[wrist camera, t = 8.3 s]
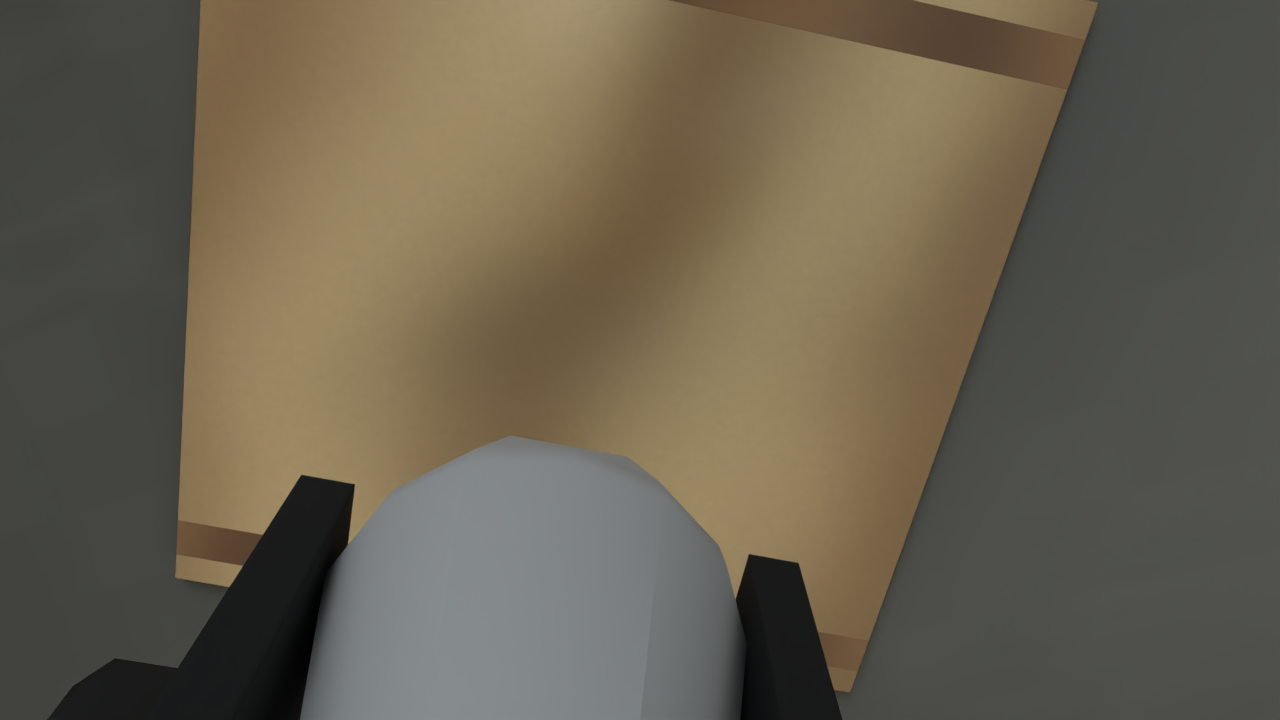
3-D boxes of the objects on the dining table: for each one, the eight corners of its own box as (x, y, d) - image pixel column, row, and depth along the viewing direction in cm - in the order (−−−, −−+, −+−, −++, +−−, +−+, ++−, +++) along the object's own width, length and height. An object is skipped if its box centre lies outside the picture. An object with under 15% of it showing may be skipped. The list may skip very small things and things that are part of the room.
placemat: (1092, 1, 23) (1099, 2, 23) (847, 684, 30) (850, 693, 30) (215, -202, 22) (208, -205, 21) (180, 570, 29) (174, 578, 28)
